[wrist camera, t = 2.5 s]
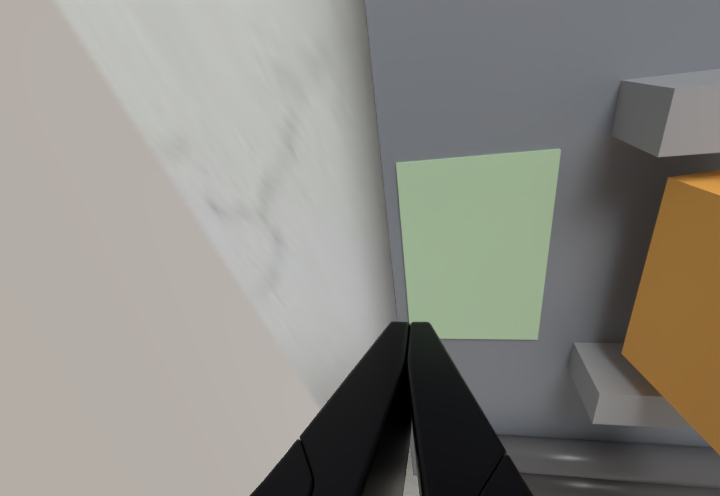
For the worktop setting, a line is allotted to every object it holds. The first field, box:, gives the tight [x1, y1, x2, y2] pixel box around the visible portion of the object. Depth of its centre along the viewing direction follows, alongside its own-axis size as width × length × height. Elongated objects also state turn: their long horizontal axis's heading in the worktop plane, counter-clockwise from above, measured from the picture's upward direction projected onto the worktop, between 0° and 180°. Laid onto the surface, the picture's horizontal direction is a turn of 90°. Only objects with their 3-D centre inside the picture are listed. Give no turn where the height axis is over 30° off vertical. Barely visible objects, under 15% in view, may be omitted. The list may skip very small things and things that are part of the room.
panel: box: [365, 0, 720, 496], centre depth 10 cm, size 14×22×5 cm, turn 7°
